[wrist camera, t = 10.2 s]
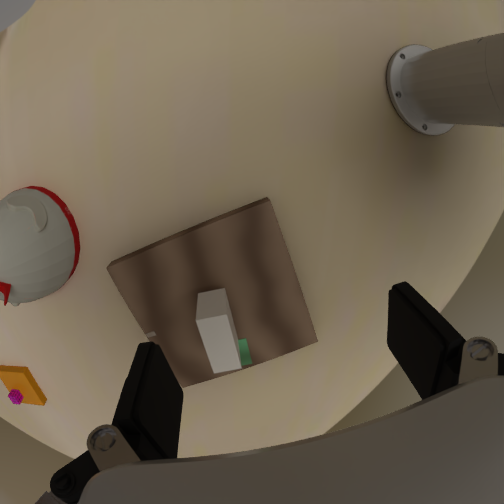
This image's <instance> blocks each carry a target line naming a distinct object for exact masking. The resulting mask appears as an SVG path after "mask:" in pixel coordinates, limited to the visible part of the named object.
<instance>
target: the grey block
mask: <svg viewBox="0 0 504 504" xmlns="http://www.w3.org/2000/svg"><path fill="white" fill-rule="evenodd" d="M196 323H197V326H198V329H199V332H200V335H201V338H202V341H203V344H204V347H205V350H206V352H207V355H208V358H209V361H210V364H211V367H212V369H213V372H214V373H219V372H225V371H231V370H236V369H241V368H242V367H241V359H240V352H239V344H238V337H237V334H236V330H235V326H234V322H233V318H232V314H231V310H230V306H229V303H228V299H227V295H226V291H225V288H222V289H217V290H212V291H207V292H202V293H198V300H197V311H196Z"/></svg>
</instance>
